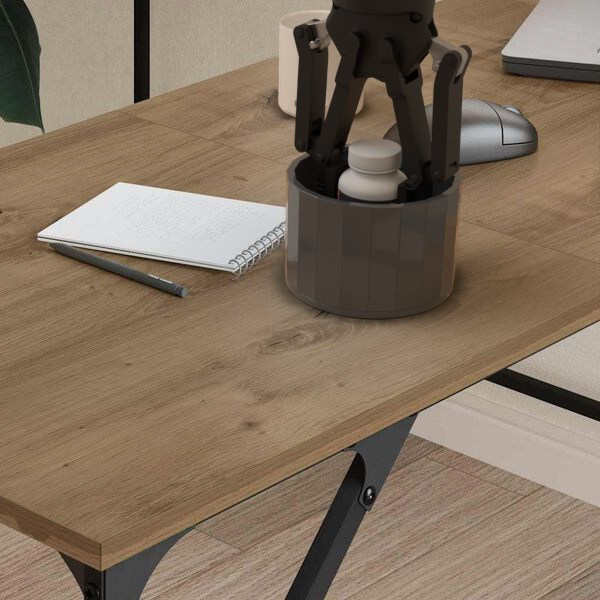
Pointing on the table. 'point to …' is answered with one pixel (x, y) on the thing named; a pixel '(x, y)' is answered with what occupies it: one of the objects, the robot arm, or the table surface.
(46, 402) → the table surface
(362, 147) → the pill bottle
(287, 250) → the canister
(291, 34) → the mug
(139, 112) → the table surface
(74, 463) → the table surface
